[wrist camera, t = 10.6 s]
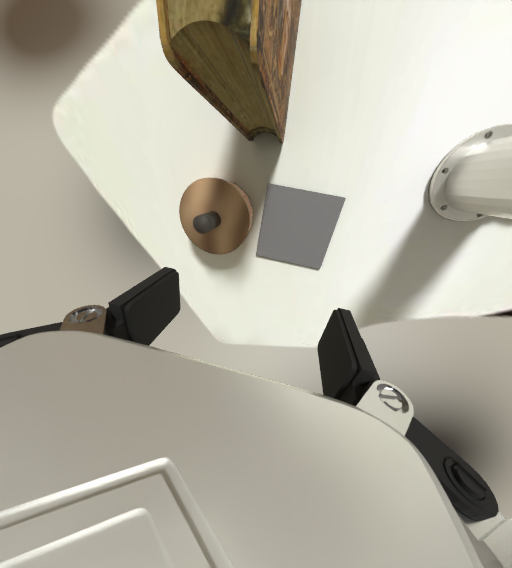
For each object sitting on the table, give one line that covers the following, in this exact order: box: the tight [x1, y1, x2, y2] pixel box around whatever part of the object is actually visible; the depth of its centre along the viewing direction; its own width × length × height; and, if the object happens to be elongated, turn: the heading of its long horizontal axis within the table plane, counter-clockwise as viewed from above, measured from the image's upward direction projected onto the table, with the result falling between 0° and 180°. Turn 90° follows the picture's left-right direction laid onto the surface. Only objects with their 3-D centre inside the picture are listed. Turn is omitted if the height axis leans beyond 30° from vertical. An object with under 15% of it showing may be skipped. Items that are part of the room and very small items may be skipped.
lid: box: [179, 178, 250, 254], centre depth 32 cm, size 13×13×6 cm
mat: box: [256, 184, 346, 269], centre depth 37 cm, size 14×14×1 cm
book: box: [156, 0, 301, 143], centre depth 17 cm, size 16×6×25 cm, turn 175°
